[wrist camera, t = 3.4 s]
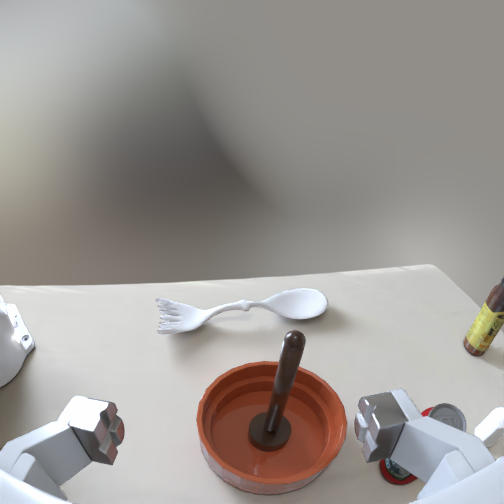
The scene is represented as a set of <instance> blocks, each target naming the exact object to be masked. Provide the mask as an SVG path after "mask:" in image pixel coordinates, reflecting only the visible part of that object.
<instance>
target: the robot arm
mask: <svg viewBox="0 0 504 504" xmlns="http://www.w3.org/2000/svg"><path fill="white" fill-rule="evenodd" d="M34 346H35V343H34V341H33V339H32V338H31V336H30V334H29V332H28V330H27V328H26V326H25V324H24V322H23V320H22V318H21V316H20V314H19V312H18V310H17V308H16V306H15V305H14V304H5V303H4V301H3V298H2V296H1V294H0V387H2V386H4V385H5V384H7V383H8V382H9V381H11V380H12V379H13V378H14V377H15V376H16V374H17V373H18V372H19V370H20V368H21V366H22V364H23V362H24V359H25V357H26V356H27V355H28V354H29V353H30V352H31V350H32V349H33V348H34ZM358 407H359V409H360V411H359V412H358V413H357V414H356V417H355V422H354V424H355V433H356V436H357V439H358V440H359V441H361V442H362V443H363V446H362V452H363V454H364V457H365V459H366V462H367V463H369V462H373V461H378V460H382V459H386V458H390V457H391V458H390V459H392V460H393V461H394V462H396V463H397V464H399V465H400V466H401V467H403V468H404V469H406V470H407V471H409V472H410V473H412V474H413V475H414V476H416V477H417V478H419V479H420V480H422V481H423V482H425V483H426V485H425V486H424V487H423V489H422V490H421V491H420V493H419V494H418V496H417V498H418V500H417V501H414V502H411V503H409V504H504V456H502V457H501V458H499V459H498V460H496V459H495V458H494V457H493V455H492V454H491V453H490V451H489V450H488V448H487V447H486V446H485V444H484V443H483V442H482V440H481V439H480V438H479V437H476V436H474V435H471V434H469V433H466V432H464V431H461V430H459V429H456V428H454V427H451V426H449V425H447V424H444V423H442V422H440V421H437V420H435V419H433V418H430V417H428V416H425V417H423V416H422V414H421V413H420V412H419V410H418V409H417V407H416V406H415V404H414V403H413V401H412V400H411V399H410V397H409V396H408V394H407V393H406V391H405V390H404V389H402V388H401V389H397V390H393V391H389V392H384V393H380V394H375V395H370V396H365V397H361V399H360V400H359V404H358ZM117 411H118V410H117V408H116V405H115V403H112V402H109V401H103V400H98V399H93V398H87V397H82V396H78V395H77V396H75V397H73V399H72V400H71V401H70V403H69V404H68V406H67V407H66V409H65V410H64V411H63V413H62V414H61V416H60V417H59V419H58V420H57V422H51V423H49V424H47V425H45V426H43V427H40V428H38V429H36V430H34V431H32V432H30V433H27V434H25V435H23V436H21V437H19V438H16V439H14V440H12V441H10V442H7V443H6V444H5V446H4V447H3V449H2V450H1V451H0V504H73V503H70V502H68V501H67V499H68V498H67V496H66V494H65V493H64V492H63V491H62V490H61V489H60V488H59V486H61V485H62V484H63V483H65V482H66V481H67V480H69V479H70V478H71V477H73V476H74V475H75V474H77V473H78V472H79V471H81V470H82V469H83V468H85V467H86V466H87V465H89V464H90V463H91V462H92V461H95V462H99V463H104V464H108V465H113V463H114V460H115V458H116V456H117V453H118V451H117V449H116V447H117V446H118V445H120V444H121V443H122V441H123V438H124V431H125V430H124V424H123V422H122V419H121V418H119V417H118V416H117V415H116V413H117Z"/></svg>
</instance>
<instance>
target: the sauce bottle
mask: <svg viewBox="0 0 504 504" xmlns="http://www.w3.org/2000/svg"><path fill="white" fill-rule="evenodd" d="M503 323H504V278H503V279H502V281H501V283H500V284H499V285H497V286H495V287H494V288H493V289H492V291H491V292H490V294H489V297H488V299H487V300H486V301H485V303H484V305H483V307H482V309H481V310H480V312H479V314H478V316H477V318H476V319H475V321H474V323H473V324H472V326H471V328H470V330H469V331H468V333H467V336H466V337H465V339H464V346H465V348H466V349H467V350H468V351H469V352H470V353H471V354H473V355H477V356H479V355H482V354H483V353H484V352H485V351H486V350H487V348H488V347H489V346H490V344H491V342H492V341H493V339H494V338H495V336H496V335H497V333H498V332H499V330H500V328H501V327H502V325H503Z"/></svg>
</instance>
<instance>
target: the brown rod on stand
mask: <svg viewBox="0 0 504 504" xmlns="http://www.w3.org/2000/svg"><path fill="white" fill-rule="evenodd" d="M305 343H306V339H305V336H304V334H303V333H301V332H300V331H297V330H293V331H290V332H288V333H287V334H286V336H285V338H284V341H283V346H282V351H281V355H280V360H279V364H278V368H277V373H276V377H275V381H274V385H273V390H272V394H271V398H270V402H269V406H268V410H267V412H263V413H260V414H258V415H256V416H255V417H254V418H253V419H252V420H251V422H250V424H249V430H248V438H249V441H250V443H251V444H252V445H253V446H254V447H255V448H257V449H259V450H261V451H265V452H273V451H277V450H279V449H281V448H283V447H284V446H285V445H286V443H287V442H288V439H289V437H290V435H291V425H290V422H289V421H288V420H287V418H286V417H284V416H283V413H284V410H285V407H286V404H287V401H288V398H289V395H290V392H291V389H292V386H293V383H294V380H295V377H296V373H297V370H298V367H299V364H300V360H301V357H302V354H303V350H304V347H305Z"/></svg>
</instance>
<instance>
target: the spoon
mask: <svg viewBox="0 0 504 504" xmlns="http://www.w3.org/2000/svg"><path fill="white" fill-rule="evenodd" d="M156 302H158V303H161V304H165V305H158V307H160V308H163V309H166V310H159V312H161V313H164V314H167V315H171V316H160V318H161V319H163V320H166V321H169V322H160V324H161V325H165V326H159V328H161V330H158V331H157V332H158V333H159V334H173V333H180V332H187V331H192V330H195V329H197V328H198V327H200V326H201V325H203V324H204V323H205V322H206V321H208V320H209V319H210V318H212V317H214V316H215V315H217V314H219V313H222V312H225V311H230V310H242V311H249V309H250V308H252V307H259V308H264V309H267V310H269V311H272V312H274V313H276V314H278V315H281V316H284V317H287V318H291V319H308V318H313V317H316V316H318V315H320V314H322V313H323V312H324V311H325V310H326V309H327V307H328V300H327V298H326V296H325V295H324V294H323V293H322V292H320V291H318V290H316V289H310V288H297V289H291V290H287V291H283V292H280V293H277V294H275V295H273V296H272V297H270V298H268V299H267V300H265V301H253V302H250V301H246V300H244V299H242V300H240V301H239V302H237V303H231V304H225V305H221V306H218V307H215V308H213V309H209V310H199V309H196V308H194V307H192V306H189V305H186V304H181V303H176V302H173V301H169V300H166V299H162V298H158V299H156Z"/></svg>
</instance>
